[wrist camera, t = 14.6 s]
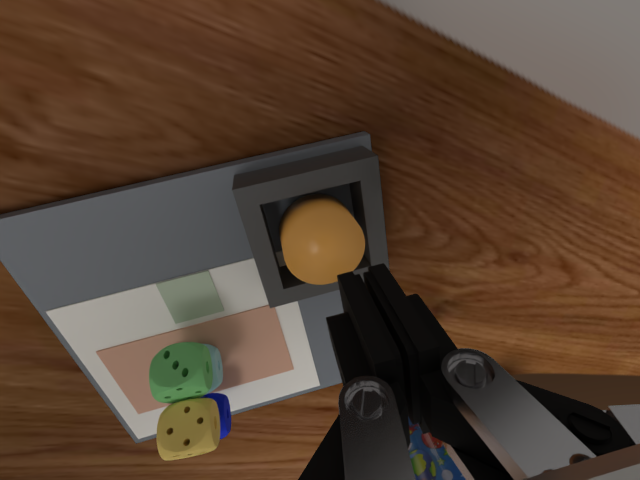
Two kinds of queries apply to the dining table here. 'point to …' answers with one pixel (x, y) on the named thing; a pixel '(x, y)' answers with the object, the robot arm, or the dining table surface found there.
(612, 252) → the dining table surface
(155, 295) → the colouring board
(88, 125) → the dining table surface
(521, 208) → the dining table surface
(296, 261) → the button
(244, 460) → the dining table surface
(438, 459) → the snack cup
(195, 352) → the dice
